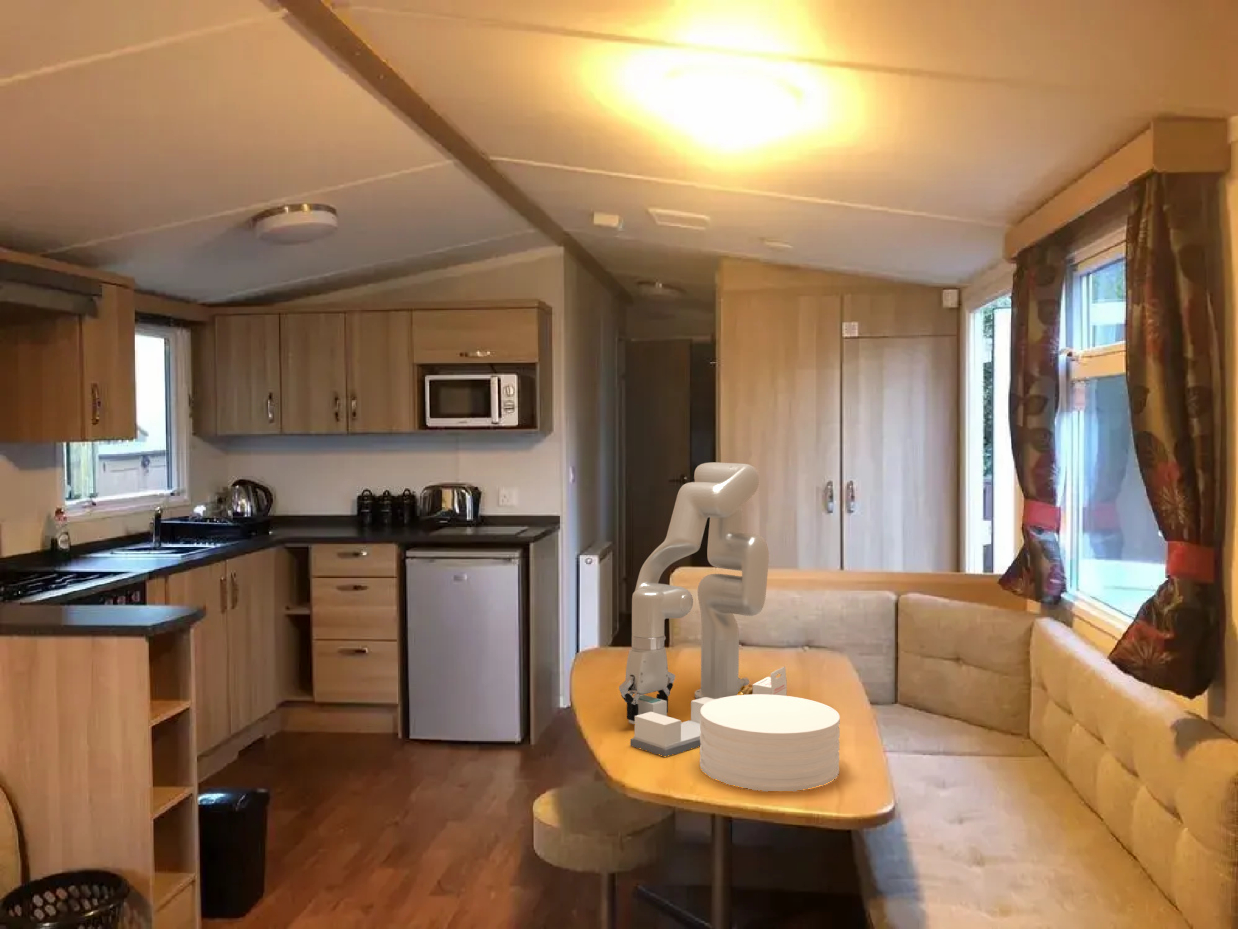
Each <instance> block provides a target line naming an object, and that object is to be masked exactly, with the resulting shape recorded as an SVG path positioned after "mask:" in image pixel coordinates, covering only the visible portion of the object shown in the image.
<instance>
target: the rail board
mask: <svg viewBox="0 0 1238 929" xmlns="http://www.w3.org/2000/svg"><path fill="white" fill-rule="evenodd" d="M712 700H715V699H712V698H708V697H704V698H700V699H697V698H695V699H693V700H691V701H690V720H687V721H683V722H682V720H680V719H677V718H675V717H670V716H668V715H667V716H664V715H661V714H657V713H654V712H648V713H644V714H640V715H637V716H635V725H634V736H633V737H632V738H630V740H629V741H630V747H632V746H633V747H632V748H635V747H636V749H638V748H641V749H643V750H642V751H644V750H647V751H649V752H648V753H650V752H652V753H651V754H653V753H654V754H653V755H656V754H660V755H662V756H668V755H672V754H675V755H678V754H681V753H684V752H683V751H685V752H687V751H686V750H688V751H690V750H689V749H691V748H694V749H697V748H699V747H698V746H700V745H701V743H700V733H701V731H700V721H701V718H700V709H701V707H702V706H703V705H704V704H706V703H707V702H710V701H712ZM696 747H697V748H696ZM641 749H640V750H641ZM691 750H692V749H691ZM647 751H646V752H647ZM680 752H681V753H680ZM662 756H661V757H662ZM672 756H673V755H672Z"/></svg>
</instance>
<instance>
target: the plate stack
mask: <svg viewBox="0 0 1238 929" xmlns="http://www.w3.org/2000/svg"><path fill="white" fill-rule="evenodd" d="M700 718H701V721H700V731H701V733H700V743H701V745H700V747H699V755H700V757H699V767H701V768H700V770H701V769H702V770H701V772H702V773H703V772H704V773H706V774H707V775H708V776H710V777H711V778H710V777H709V778H710V779H712V778H713V779H712V780H714V779H717V780H719V781H721V782H724V783H726V784H725V785H727V784H729V785H728V786H730V785H735V786H739V787H743V788H748V789H747V790H749V789H752V790H751V791H757V790H758V791H759V792H768V791H793V792H798V791H797V790H803V789H808V788H812V787H816V786H819V785H824V784H826V783H828V782H830V781H832V780H833V779H835V778H836V777H837V776H838V777H839V775H840V764H839V763H840V752H839V750H840V734H841V733H840V723H841V722H840V720H841V715H840V713H839V712H838V711H837V710H836V709H835V708H833V707H831V706H829V705H827V704H825V703H822V702H819V701H815V700H812V699H808V698H803V697H797V696H791V695H786V696H783V695H768V694H753V693H752V694H744V695H736V696H728V697H723V698H719V699H715V700H712V701H710V702H707V703H706V704H704V705H703V706H702V707H701V709H700ZM704 773H703V774H704ZM706 774H705V775H706ZM838 774H839V775H838ZM707 775H706V776H707ZM708 776H707V777H708ZM838 777H837V778H838ZM837 778H836V779H837ZM836 779H835V780H836ZM721 782H720V783H721ZM724 783H723V784H724ZM743 788H742V789H743ZM760 790H762V791H760ZM803 791H804V790H803Z"/></svg>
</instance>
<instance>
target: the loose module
mask: <svg viewBox="0 0 1238 929" xmlns="http://www.w3.org/2000/svg"><path fill="white" fill-rule="evenodd" d="M636 704H638V715H640V714H644V713H648V712H654V713H657V714H661V715H664V716H668V713H667V701H665V700H661V699H658V698H657V697H655V696H654V697H653V696H650V695H648V694H643V695H640V697H639V699H638V701H637V703H636ZM628 723H629V724H632V725H634V724H635V721H632V720H628Z"/></svg>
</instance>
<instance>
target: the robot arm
mask: <svg viewBox="0 0 1238 929" xmlns="http://www.w3.org/2000/svg"><path fill="white" fill-rule="evenodd" d="M693 479H694V481H691V482H686V483H685V484H682V486H681V487H680V488H679V490H678V492H677V495H676V499H675V503H674V507H673V511H672V514H671V518H670V522H669V525H668V529H667V533H666V537H665V538H664V541H663V542H662V543H661V544H659V545H658V546H657V547H656V548H655V549H654V550H653V551H652V552H651V554H650V555H649V556H648V557H647V558H646V560H645V561H644V563H643V564H642V566H641V568H640V569H639V570H640V571H639V574H638V577H637V581H636V585H635V589H634V592H633V593H632V597H631V649H629V650H628V651H629V652H628V655H627V659H626V665H625V666H626V667H625V680H624V681H623V682H622V683H621V684H620V685H619V686H618V689H619V693H620V695H621V698H622V699H623V700H624V702H625V703H626V719H627V720H628V721H629V720H632V721H635V716H637V715H638V704H636V703H637V701H638V699H639V697H640V695H648V694H650V693H651V694H652V693H655V692H657V694H656V698H658V699H661V700H665V701H667V714H668V713H669V696H670V695H671V690H673V687H674V681H675V679H676V674H674V673H672V672H671V671H669V666H668V658H667V651H666V647H665V641H666V639H667V638H666V636H665V620H666V619H681V618H684V617H686V616H687V615H688V614H689V613H690V612H691V611H692V608H693V606H694V598H693V595H692V593H691V592H690V590H688V589H687V588H685V587H683V586H679V585H672V584H671V585H670V584H666V583H659V581H660V579H661V576H662V574H663V572H665V570H666V569H667V568H668V567H669V566H670V565H672V564H674V563H675V562H677V561H679V560H681V559H683V558H685V557H688V556H691V555H692V554H695V553H697V552H698V551H700V548H701V544H702V541H703V537H704V534H705V528H706V525H707V521H708V519H709V527H708V535H707V536H708V538H707V549H706V550H707V561H708V563H709V564H710V565H711V566H712V567H715V568H718V569H725V570H732V571H740V572H741V576H739V575H734V574H725V573H711V574H707V575H706V576H704V577H703V578H701V580H700V581H699V583H698V587H697V599H698V600H697V601H698V604H699V605H698V606H699V610H700V620H701V621H700V624H701V626H700V627H701V634H700V635H701V636H700V638H701V640H700V641H701V642H700V646H701V647H700V688H699V689H697V690H695V691H694V697H695V699H700V698H704V697H708V698H712V699H719V698H723V697H728V696H736V695H737V694H738V692H739V691H741V688H742V687H745V686H748V685H749V684H750V679H749V678H748V677H742V678H739V669H740V668H739V666H740V665H739V660H740V659H739V658H740V656H739V655H740V653H739V650H740V649H739V647H740V640H739V639H740V638H739V637H740V631H739V625H738V622H737V619H736V617H735V616H734V615H739V616H749V617H753V616H756V615H758V614H760V612H762V610H763V608H764V605H765V604H766V603H765V602H766V596H767V585H768V584H767V583H768V574H769V563H770V562H769V560H770V556H769V555H770V553H769V546H768V544H767V542H766V540H765V539H764V537H763V536H761V535H759V534H756V533H751V532H750V533H746V532H744V531H743V529H744V528H743V527H744V511H743V508H742V506H744V505H745V504H746V503H747V502H748V501H750V499H751V498H753V496H754V495H755V494H756V492H757V491H758V487H759V485H760V476H759V472H758V470H757V468H756V467H754V466H753V465H751V464H749V463H738V462H737V463H736V462H713V461H712V462H704V463H701V464H699V465H697V467H696V468H695V470H694V476H693Z"/></svg>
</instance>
